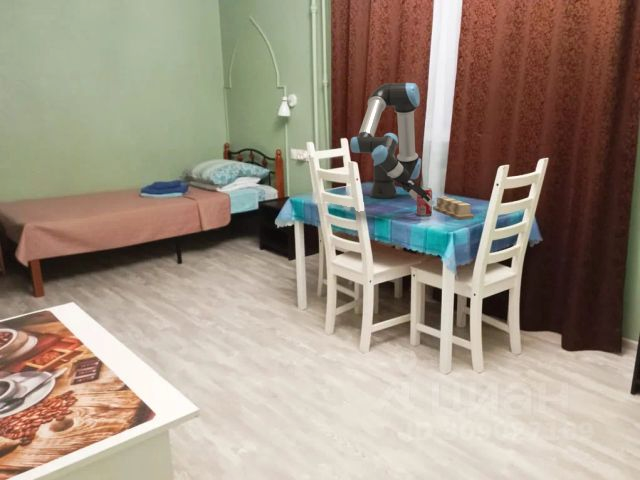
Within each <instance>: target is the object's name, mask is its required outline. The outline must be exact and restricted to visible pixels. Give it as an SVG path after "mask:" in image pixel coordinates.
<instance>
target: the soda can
mask: <svg viewBox="0 0 640 480" xmlns="http://www.w3.org/2000/svg"><path fill="white" fill-rule="evenodd" d="M421 188H422V189H423V190H425V191H426V192H427V193H428V194H427V195H428V196H429V197H430V198H431V199H432V200H433V190H432V188H431V187H421ZM421 198H422V197H421V196H420V195H419V194H417V201H416V214H417V215H418V216H420V217H430V216H431V215H432V214H433V212H432V211H433V205H432V206H431V207H430V206H429V205H428V204H427V203H426V202H425V201H424V200H423V199H421Z"/></svg>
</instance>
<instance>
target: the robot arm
mask: <svg viewBox="0 0 640 480" xmlns="http://www.w3.org/2000/svg"><path fill="white" fill-rule="evenodd" d="M420 97H421V96H420V89H419V87H418V85H417V84H416V83H414V82H401V83H400V82H395V83H384V84H382V85H380V86H378V87H377V88H376V89H375V90H374V91H373V92H372V93H371V94H370V96H369V98H368V99H367V109H366V111H365V115H364V117H363V121H362V124H361V126H360V129H359V133H358V135H357V136H353V137H351V139H350V144H349V147H350V150H351V151H350V152H351V153H355V154H371V158H372V160H373V183H372V187H371V190H370V191H369V192H370V197H371V198H375V199H394V198H397V195H398V192H397V189H396V186H395V184H396V185H397V184H398V185H400V186H401V188H402V189H403V191H404V192H406V193H408V194H409V196H410V197H412V199H413V200H414V201H415V202H417V194H419V195H420V196H421V197H422V198H421V199H423V200H424V201H425V202H426V203H427V204H428V205H429V206H430V207H431V206H432V207H433V205H434V204H435V202H434V200H433V198H432V199H431V198H430V197H429V196H428V195H427V194H428V193H427V192H426V191H425V190H423V189H422V188H423V187H421V186H420V185H419V184H418V183H416V181H415V180H416V179H418V178H419V176H420V173H421V167H422V159H421V158H419V155H418V153H417V152H416V143H415V142H416V141H415V140H416V139H415V136H416V135H415V114H414V113H415V112H416V110H417V107H419V106H420V103H421V102H420V100H421V99H420ZM386 107H387V108H388V107H389V108H390V107H392V108H393V111H394V112H395V113H396V114H397V116H396V117H397V127H398V128H397V134H398V136H397V135H396V134H395V133H393V132H388V133H385V134H384V135H383V137H382V136H381V137H380V136H378V137H377V136H375V134H376V131H377V128H378V126H379V122H380V119H381V116H382V113H383V111H384V110H385V109H386ZM397 148H398V149H399V153H398V154H397V155H396V156H395V153H396V151H397Z"/></svg>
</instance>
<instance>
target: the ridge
mask: <svg viewBox="0 0 640 480" xmlns="http://www.w3.org/2000/svg"><path fill="white" fill-rule="evenodd" d="M471 206H472V204H470V203H467V202H464V201H461V200H458V199H455V198H452V197H449V196H446V195H445V196H436V206H432V211H436V212H437V213H441V214H443V215H446V216H448V217H451V218H453V219H456V220H460V221H461V220H469V219H470V220H471V219H475V215H474V214H473V213H471V208H472V207H471Z"/></svg>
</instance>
